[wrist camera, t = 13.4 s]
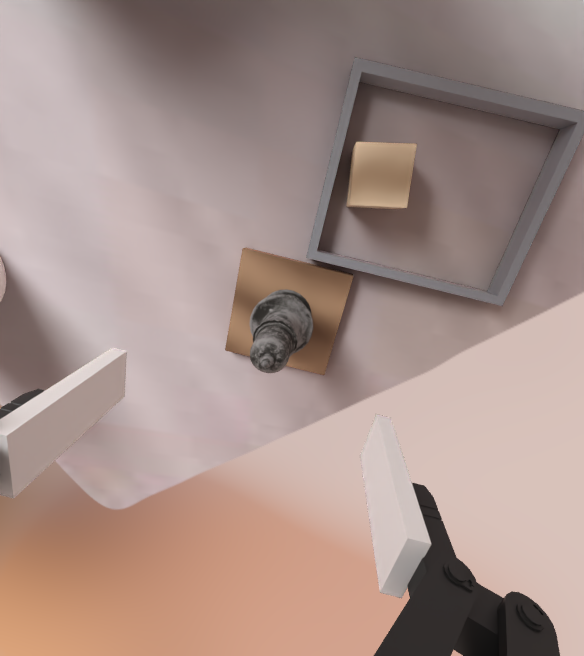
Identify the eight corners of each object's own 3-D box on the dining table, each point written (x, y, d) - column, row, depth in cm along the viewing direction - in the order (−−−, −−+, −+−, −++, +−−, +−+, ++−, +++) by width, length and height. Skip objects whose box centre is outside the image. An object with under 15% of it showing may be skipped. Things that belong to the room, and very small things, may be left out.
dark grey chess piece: (312, 343, 33) (306, 407, 22) (257, 339, 34) (223, 400, 23) (316, 288, 32) (311, 327, 20) (257, 284, 32) (220, 321, 21)
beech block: (351, 152, 29) (356, 141, 24) (403, 154, 28) (416, 143, 24) (346, 206, 30) (349, 204, 26) (395, 209, 30) (406, 207, 26)
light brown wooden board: (245, 247, 32) (242, 248, 31) (352, 273, 32) (353, 276, 31) (228, 346, 36) (225, 350, 35) (324, 370, 36) (324, 375, 35)
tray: (352, 68, 27) (354, 56, 25) (574, 120, 26) (593, 113, 24) (307, 255, 32) (306, 257, 30) (491, 300, 31) (502, 306, 30)
